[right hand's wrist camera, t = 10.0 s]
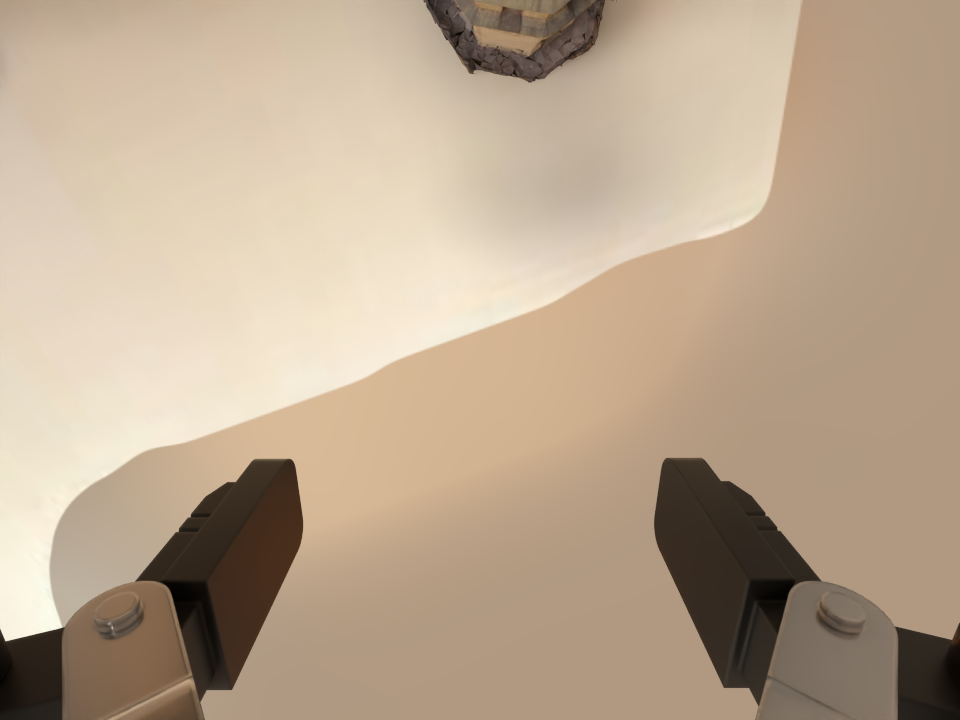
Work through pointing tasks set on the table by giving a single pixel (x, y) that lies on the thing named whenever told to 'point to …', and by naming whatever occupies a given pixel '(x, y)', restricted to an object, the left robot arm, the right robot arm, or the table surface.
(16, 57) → the table surface
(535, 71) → the miniature building
